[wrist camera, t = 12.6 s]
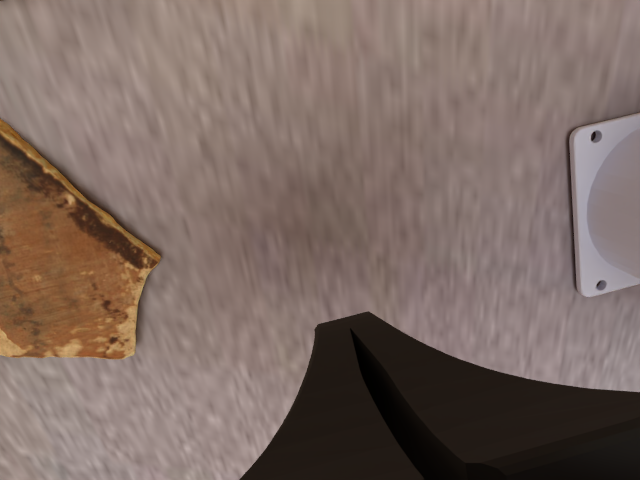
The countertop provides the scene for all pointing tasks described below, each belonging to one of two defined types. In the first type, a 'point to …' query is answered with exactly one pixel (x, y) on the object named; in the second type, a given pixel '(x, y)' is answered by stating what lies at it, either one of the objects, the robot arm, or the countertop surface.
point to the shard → (62, 264)
